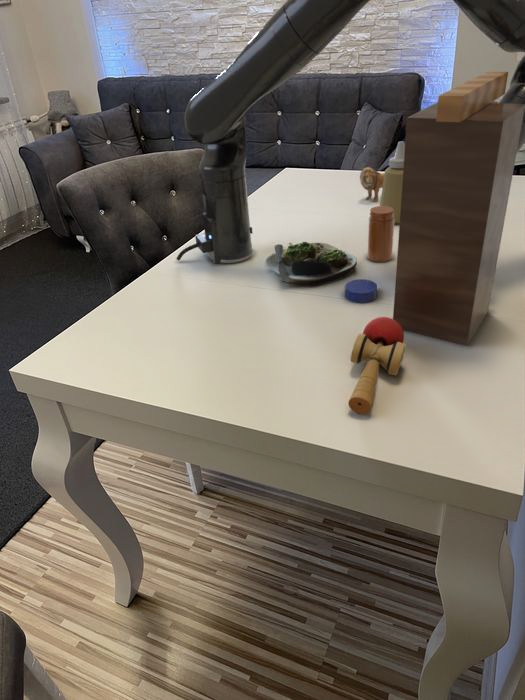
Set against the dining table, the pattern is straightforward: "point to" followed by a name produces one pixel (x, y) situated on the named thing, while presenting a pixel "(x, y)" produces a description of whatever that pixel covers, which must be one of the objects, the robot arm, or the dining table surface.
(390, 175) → the squeeze bottle
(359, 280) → the jar lid
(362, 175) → the lion figurine
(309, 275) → the salad plate
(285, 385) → the dining table surface
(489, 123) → the stand
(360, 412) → the kendama
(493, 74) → the rod
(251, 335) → the dining table surface
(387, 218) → the jar
